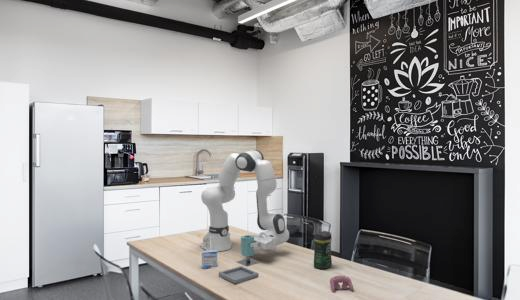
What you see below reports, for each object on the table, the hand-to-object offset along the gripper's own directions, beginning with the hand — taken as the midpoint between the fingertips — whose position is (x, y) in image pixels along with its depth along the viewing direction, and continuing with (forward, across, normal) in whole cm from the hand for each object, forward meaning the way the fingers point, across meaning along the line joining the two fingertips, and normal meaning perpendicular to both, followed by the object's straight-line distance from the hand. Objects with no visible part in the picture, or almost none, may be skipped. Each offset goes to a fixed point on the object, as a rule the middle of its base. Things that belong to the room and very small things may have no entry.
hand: (246, 244), depth 196 cm
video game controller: (-10, +56, +10) cm, 58 cm away
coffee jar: (-27, +31, +11) cm, 43 cm away
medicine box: (+18, -9, +11) cm, 23 cm away
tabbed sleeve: (-1, 0, +6) cm, 6 cm away
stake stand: (-1, 0, +11) cm, 11 cm away
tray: (+15, +13, +11) cm, 23 cm away
